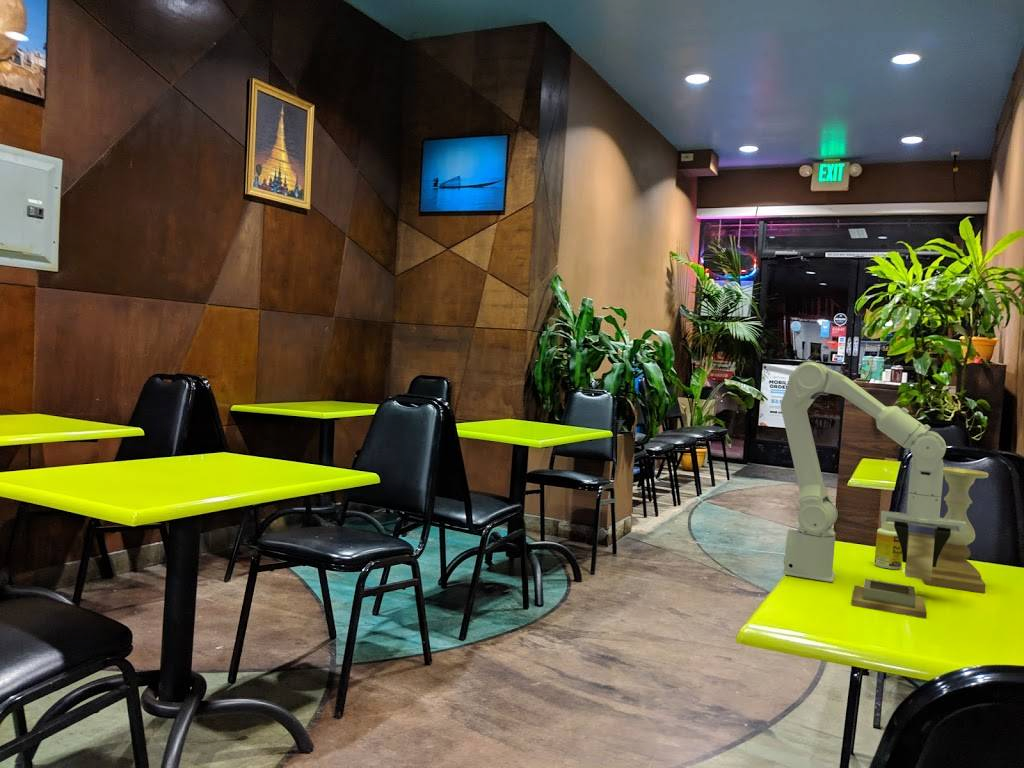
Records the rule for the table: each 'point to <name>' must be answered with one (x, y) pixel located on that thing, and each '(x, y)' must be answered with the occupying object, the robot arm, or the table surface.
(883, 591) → the gray square frame
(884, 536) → the supplement bottle
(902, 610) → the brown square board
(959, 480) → the candle holder
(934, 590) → the table surface
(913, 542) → the tan rectangular block
